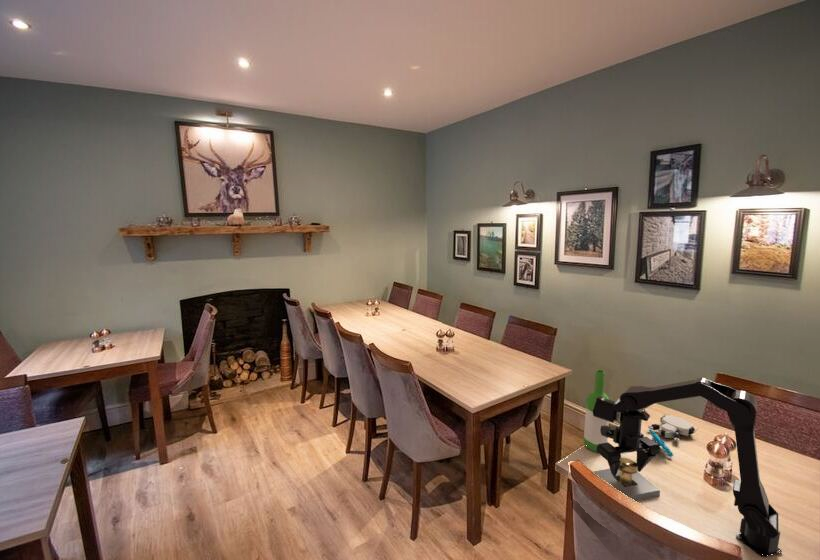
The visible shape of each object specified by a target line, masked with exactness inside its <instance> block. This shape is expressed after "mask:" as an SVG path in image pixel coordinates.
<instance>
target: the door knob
mask: <svg viewBox="0 0 820 560" xmlns="http://www.w3.org/2000/svg"><path fill="white" fill-rule="evenodd" d="M620 461H621V463H620V466H619V470H620V472H619V481H618V482H620V483H621V484H622V485H623V486H624V487H628V486H632V477H633V474H635V473H637V472H638V465H637V463H636V461H635V460H633V459H631V458H628V457H623V456H621V459H620Z"/></svg>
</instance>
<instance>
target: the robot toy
mask: <svg viewBox="0 0 820 560" xmlns="http://www.w3.org/2000/svg"><path fill="white" fill-rule="evenodd" d="M659 419H660V423H661V425H659V424H657V423H655V424H654V423H653V424H651V425H648V427H647V428H648V429H649V430H650V429H651V430H652V431H657V430H658V431H659V433H658V434H659V435H660V436H662V437H664V438H667V439H673V440H674V442H676V441H677V442H681V436H690V435H693V434H696V432H697V431H698V430H699V429H700V426H698V427H697V428H696V429H695V427H694V425H693V424H692V423H691V422H689V421H688V420H686V419H684V418H681V417H679V416H678V417H677V416H675V415H672V414H671V415H669V414H667V412H665V413H664V414H663V415H662V416H661V417H659Z"/></svg>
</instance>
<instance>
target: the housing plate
mask: <svg viewBox="0 0 820 560" xmlns="http://www.w3.org/2000/svg"><path fill="white" fill-rule="evenodd" d="M593 472H594V473H595V474H596V475H598V476H599V477H600V478H602V479H603V480H605V481H606V482H608V483H609V484H611V485H612V486H613V487H614V488H616V489H617V490H619V491H621V492H622V493H624V494H625V495H627V496H628V497H630V498H632V499H634V500H636V501H635V502H637V501H641V500H645V499H651V498H655V497H660V494H661V489H659V488H658V487H657V486H656V485H654V484H653V483H652V482H650V480H649V479H647V478H646V477H645V476H643V475H642V474H641V473H640V472H638V471H637V473H635V474H633V477H632V486H628V487H624V486H623V485H622V484H621V483H620V482H619V472H620V470H619V469H618V471H617V474H616V476H613V475H612V473H611V470H610V468H605V469H600V470H595V471H594V470H593V471H592V473H593Z"/></svg>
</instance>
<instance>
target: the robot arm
mask: <svg viewBox="0 0 820 560" xmlns="http://www.w3.org/2000/svg"><path fill="white" fill-rule="evenodd" d="M697 397H701V398H703V399H705V400H707V401H709V402H710V403H711V404H713V405H714V406H715V407H716V408H719V409H721V410H722V411H725V412H726V413H727V417H728V419H729V421H730V423H731V425H732V427H733V430H734V435H735V443H736V452H737V461H738V468H739V477H740V480H738V479H735V478H734V481H733V485H732V486H733V487H732V494H733V496H734V501H733V502H734V503H733V505H734V506H735V507H737V510H738V512H739V513H740V515H741V516H743V518H740V519H741V520H740V527H739V533H738V534H736V536H735V537H736V538H737V539H738V540H739V541H740V542H742V543H744V545H746V546H747V547H748V548H750V549H751V550H753V551H754V552H755V553H756V552H757V553H756V554H758V555H759V554H760V555H761V556H760V555H759V556H760V557H762V556H767V555H771V554H775V555H777V554H776V553H779V552H783V550H782V549H781V548H780V547H779V541H780V537H781V531H780V530H779V513H778V511H776V509H774V507H773V506H772V505H771V504H770V503H769V498H768V495H767V493H766V490H765V488H764V485H763V483H762V481H761V477H760V467H759V460H758V451H757V450H758V449H757V441H756V433H755V425H756V420H757V419H756V417H757V410H758V409H757V408H758V401H757V398H756V396H754V395H753V394H752V393H750V392H748V391H745V390H737V389H736V388H733V387H731V386H729V385H725V384H722V383H718V382H714V381H712V380H710V379H708V378H705V377H698V378H696V379H691V380H687V381H680V382H674V383H669V384H663V385H658V386H652V387H650V386H643V385H642V386H641V385H638V386H628V387H627V388H626V389H624V390H623V392H622V393H621V395H620V396H619V398H618V399H617V400H616V401H615V400H611V399H609V400H608V399H605V398H603V397H600V396H598V397H597V398H596V403H595V406H594V409H593V416H594V417H597V418H600V419H603V420H606V421H609V423H612V424H613V423H614V422H617V421H619V425H609V426H606V425H603V426H601V429H600V431H601V435H602V436H605V437H606V438H609V439H612V441H613V442H614V443H615V444H617V445H618V446H613V444H611V443H610V442H608V441H607V443H601V444H598V445H597V450H596V451H597V452H596V453H597V454H599V455H600V456H601V457H602V458H604V459H605V460H606V461H607V464H608V467H609V469H610V470H611V473H612V475H613V476H616V474H617V471H618V469H619V466H620V463H621V461H620V459H621V457H622V455H623V454H628V453H629V454H630V453H634V452H636V461H635V462H636V463H637V465H638V471H637V472H638V473H640V472H641V471H642V470H643V469H644V468H645V467H646V466H647V465H648V464H649V463H650V462H651V461H652V460H654V459H653V458H655V457H657V455H660V454H661V446H660V447H659V445H658V444H657V443H655V442H654V441H652V438H649V437H648V436H644V435H645V434H644V433H642V432H641V431H642V422H643V421H645V422H648V420H649V419H650V418H651V415H650V414H649V413H648V412H647V411H646V409H645V408H648V407H649V406H651V405H654V404H656V403H657V404H658V403H664V402H671V401H676V400H685V399H690V398H697ZM779 550H780V551H779ZM762 554H763V555H762ZM779 554H780V553H779ZM771 556H772V555H771ZM767 557H768V556H767Z"/></svg>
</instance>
